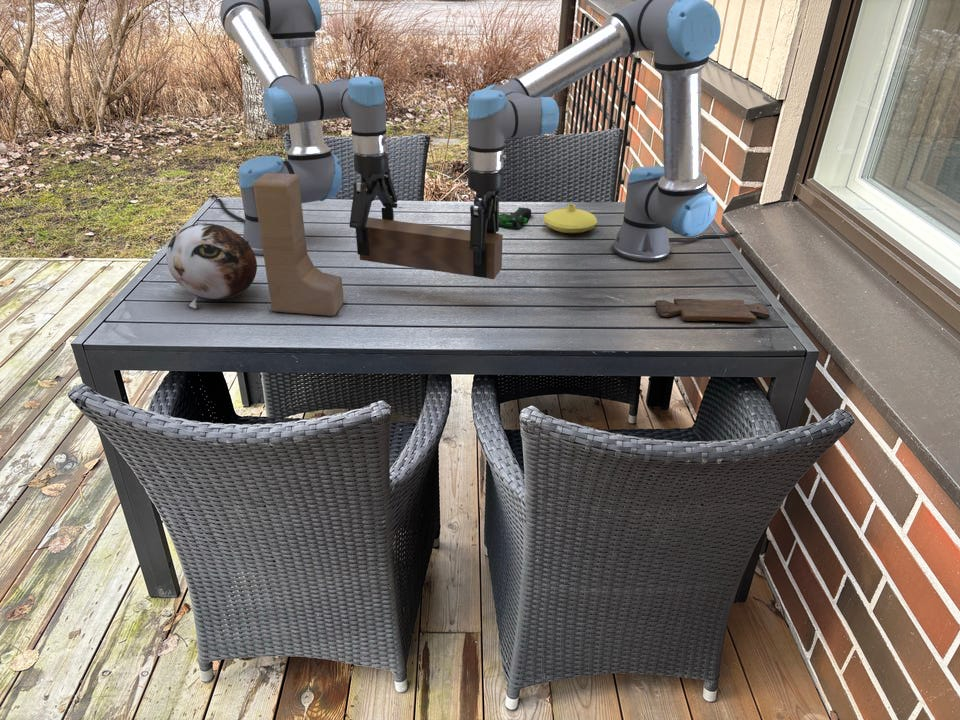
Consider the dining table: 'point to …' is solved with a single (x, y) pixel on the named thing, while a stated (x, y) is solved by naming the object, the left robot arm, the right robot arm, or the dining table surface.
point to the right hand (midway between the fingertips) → (484, 270)
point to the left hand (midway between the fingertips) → (376, 244)
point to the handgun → (515, 218)
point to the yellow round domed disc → (570, 220)
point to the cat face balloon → (211, 261)
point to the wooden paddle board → (712, 310)
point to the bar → (429, 247)
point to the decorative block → (291, 251)
